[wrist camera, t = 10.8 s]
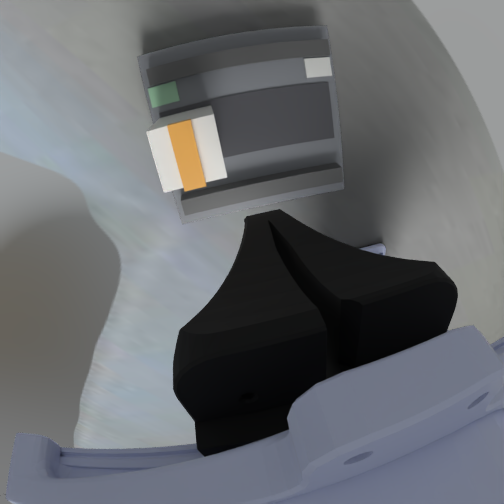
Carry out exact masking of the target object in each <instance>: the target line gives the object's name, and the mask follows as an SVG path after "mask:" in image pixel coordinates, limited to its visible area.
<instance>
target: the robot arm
mask: <svg viewBox="0 0 504 504" xmlns="http://www.w3.org/2000/svg"><path fill="white" fill-rule="evenodd" d="M244 222H245V228H244V234H243V238H242V242H241V245H240V248H239V251H238V254H237V257H236V259H235V262H234V264H233V266H232V268H231V270H230V272H229V274H228V276H227V277H226V279H225V281H224V282H223V284H222V285H221V287H220V288H219V290H218V291H217V293H216V294H215V295H214V297H213V298H212V299H211V300H210V301H209V303H208V304H207V305H206V306H205V307H204V308H203V309H202V310H201V311H200V312H199V313H198V314H197V315H196V316H195V317H194V318H193V319H191V320H190V321H189V322H188V323H187V324H186V325H185V326H184V327H182V328H181V329H180V331H179V335H178V339H177V343H176V348H175V354H174V361H173V390H174V392H175V395H176V397H177V399H178V400H179V401H180V403H181V404H182V405H183V407H184V408H185V409H186V411H187V412H188V413H189V415H190V416H191V417H192V418H193V420H194V421H195V430H196V444H187V445H178V446H167V447H153V448H133V449H84V448H65V447H60V446H59V445H58V444H57V443H56V442H54V441H53V440H52V439H50V438H48V437H46V436H43V435H39V434H29V433H16V437H15V442H14V447H13V452H12V457H11V463H10V469H9V476H8V484H7V491H6V499H7V500H8V501H9V502H11V503H14V504H504V337H502V338H501V339H499V340H497V341H496V342H494V343H492V344H491V345H490V344H489V342H488V341H487V340H486V338H485V337H484V336H483V335H482V333H481V332H480V331H479V330H478V329H477V328H476V327H475V326H474V325H470V326H464V327H460V328H456V329H452V330H450V331H448V330H447V329H448V326H449V324H450V321H451V319H452V316H453V313H454V310H455V307H456V303H457V298H458V293H457V287H456V285H455V284H454V282H453V281H452V280H451V279H450V277H449V276H448V275H447V274H446V273H445V272H444V271H443V270H442V269H441V268H440V267H439V266H438V265H437V264H436V263H435V262H429V261H418V260H408V259H401V258H395V257H390V256H385V251H386V247H385V246H384V245H383V244H382V243H380V244H376V245H372V246H368V247H364V248H360V249H358V248H355V247H352V246H349V245H347V244H344V243H341V242H339V241H336V240H334V239H332V238H329V237H327V236H325V235H323V234H321V233H319V232H317V231H315V230H313V229H311V228H310V227H308V226H306V225H304V224H303V223H301V222H299V221H298V220H296V219H295V218H293V217H291V216H290V215H288V214H287V213H285V212H283V211H282V210H280V209H278V210H273V211H269V212H264V213H260V214H255V215H251V216H247V217H246V218H245V219H244ZM379 253H381V254H379Z"/></svg>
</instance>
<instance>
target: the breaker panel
mask: <svg viewBox="0 0 504 504" xmlns="http://www.w3.org/2000/svg"><path fill="white" fill-rule="evenodd" d="M137 59H138V63H139V68H140V72H141V76H142V81H143V85H144V89H145V93H146V97H147V101H148V105H149V109H150V113H151V117H152V121H153V124H154V123H155V122H156V121H157V120H158V119H159V118H162V117H166V116H170V115H173V114H177V113H181V112H185V111H189V110H193V109H197V108H201V107H206V106H210V105H211V107H212V110H213V113H214V118H215V122H216V127H217V132H218V136H219V141H220V146H221V150H222V155H223V159H224V164H225V169H226V173H227V178H223V179H218V180H214V181H210V182H206V187H202V188H197V189H193V190H189V191H184V188H181V189H177V190H173V191H172V193H173V196H174V199H175V203H176V206H177V209H178V212H179V216H180V219H181V222H182V224H186V223H190V222H194V221H199V220H203V219H207V218H211V217H215V216H220V215H224V214H228V213H233V212H237V211H242V210H246V209H251V208H255V207H260V206H264V205H269V204H274V203H278V202H283V201H288V200H293V199H297V198H302V197H307V196H312V195H317V194H322V193H327V192H332V191H338V190H343V189H344V172H343V156H342V142H341V130H340V119H339V109H338V100H337V91H336V83H335V75H334V68H333V61H332V54H331V47H330V41H329V35H328V29H327V25H320V26H297V27H283V28H273V29H263V30H255V31H248V32H241V33H234V34H228V35H222V36H217V37H212V38H207V39H202V40H197V41H193V42H188V43H184V44H180V45H176V46H172V47H168V48H165V49H161V50H157V51H154V52H151V53H147V54H144V55H141V56H138V57H137Z"/></svg>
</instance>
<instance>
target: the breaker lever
mask: <svg viewBox="0 0 504 504" xmlns="http://www.w3.org/2000/svg"><path fill="white" fill-rule="evenodd" d="M147 136H148V140H149V143H150V147H151V150H152V154H153V157H154V161H155V164H156V168H157V171H158V174H159V178H160V181H161V184H162V188H163V191H164V193H166V192H169V191H173V190H177V189H181V188H184V191H189V190H193V189H197V188H202V187H206V182H210V181H214V180H218V179H223V178H227V173H226V169H225V164H224V159H223V155H222V150H221V146H220V141H219V136H218V132H217V127H216V122H215V118H214V113H213V110H212V107H211V105H210V106H206V107H201V108H197V109H193V110H189V111H185V112H181V113H177V114H173V115H170V116H166V117H162V118H159V119H158V120H157V121H156V122H155V123H154V124H153V125H152V126H151V127H150V129H149V130H148V131H147Z"/></svg>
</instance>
